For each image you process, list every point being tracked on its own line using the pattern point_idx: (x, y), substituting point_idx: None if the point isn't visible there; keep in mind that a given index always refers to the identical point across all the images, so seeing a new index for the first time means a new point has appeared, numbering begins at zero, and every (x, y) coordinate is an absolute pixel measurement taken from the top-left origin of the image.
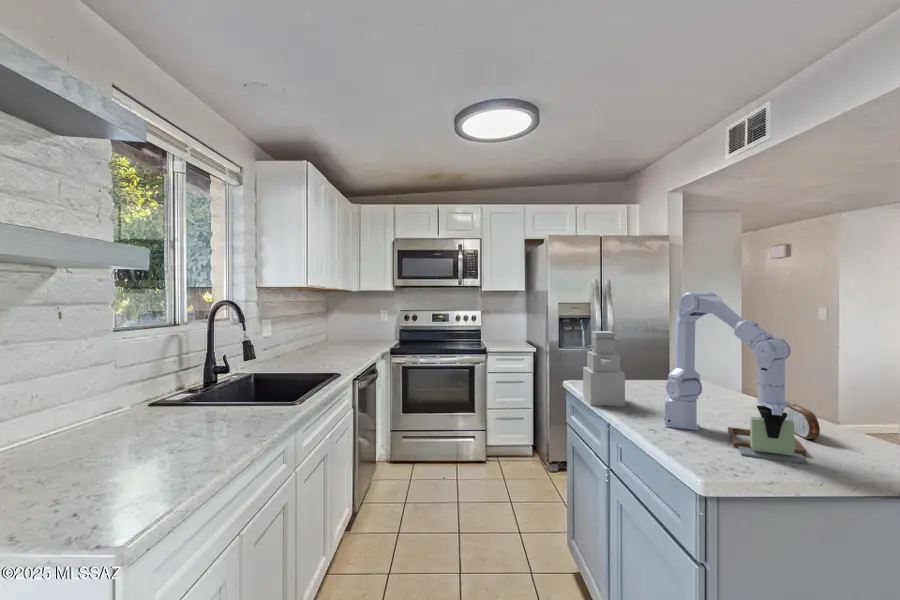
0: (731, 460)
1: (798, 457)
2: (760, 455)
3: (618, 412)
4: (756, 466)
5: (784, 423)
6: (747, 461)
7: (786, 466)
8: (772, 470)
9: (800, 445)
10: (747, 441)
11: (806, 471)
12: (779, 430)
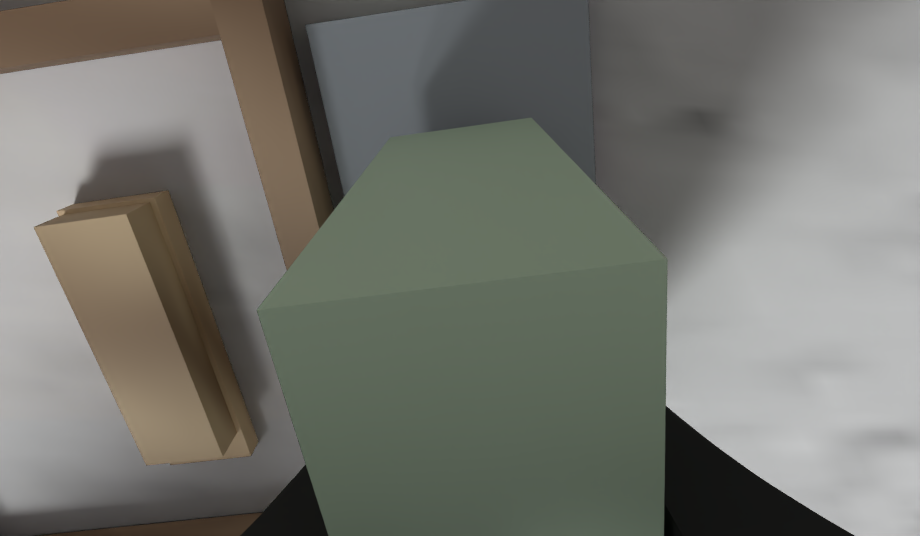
0: None
1: (469, 68)
2: None
3: None
4: (836, 391)
5: (651, 459)
6: (734, 442)
7: (741, 186)
8: (899, 293)
9: (52, 17)
10: (216, 459)
11: (828, 20)
12: (686, 430)
